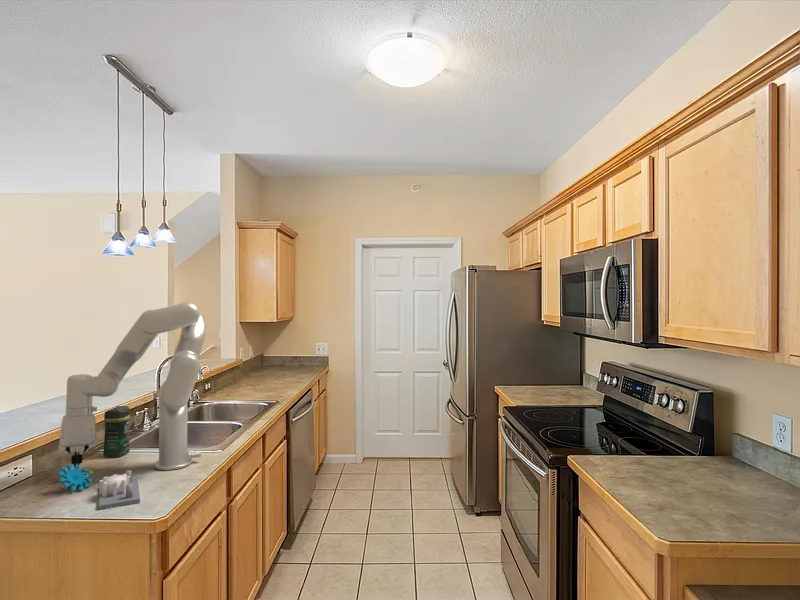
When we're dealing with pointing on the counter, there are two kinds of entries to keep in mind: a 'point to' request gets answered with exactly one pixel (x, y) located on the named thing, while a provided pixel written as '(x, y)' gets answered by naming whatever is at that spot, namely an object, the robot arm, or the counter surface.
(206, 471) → the counter surface
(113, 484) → the carrier plate
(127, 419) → the coffee jar
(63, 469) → the gear
